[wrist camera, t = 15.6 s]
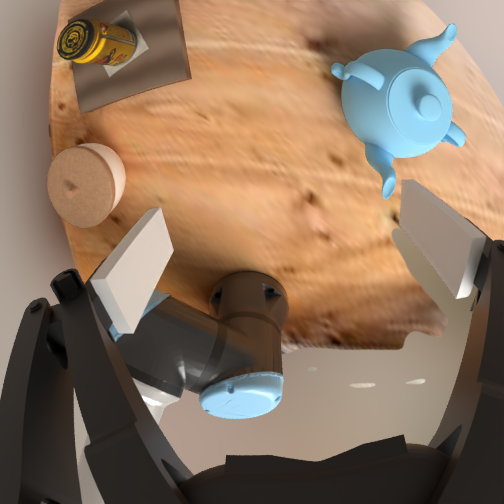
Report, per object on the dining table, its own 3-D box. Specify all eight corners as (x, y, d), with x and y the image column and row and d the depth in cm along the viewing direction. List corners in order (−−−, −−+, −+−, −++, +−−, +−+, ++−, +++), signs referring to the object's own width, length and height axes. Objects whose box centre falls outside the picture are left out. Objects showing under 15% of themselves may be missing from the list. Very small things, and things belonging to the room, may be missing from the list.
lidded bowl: (79, 132, 39) (38, 147, 29) (141, 140, 40) (108, 156, 30) (76, 198, 45) (41, 225, 35) (134, 212, 46) (105, 243, 37)
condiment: (110, 77, 32) (61, 77, 21) (89, 39, 28) (40, 32, 18) (149, 48, 30) (108, 36, 19) (127, 10, 26) (84, -9, 16)
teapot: (350, 169, 41) (384, 201, 29) (313, 48, 32) (337, 26, 20) (435, 148, 38) (486, 173, 26) (408, 36, 29) (458, 23, 17)
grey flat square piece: (191, 78, 35) (186, 77, 32) (90, 111, 37) (80, 113, 34) (175, -19, 26) (170, -25, 23) (77, 22, 28) (67, 20, 25)
